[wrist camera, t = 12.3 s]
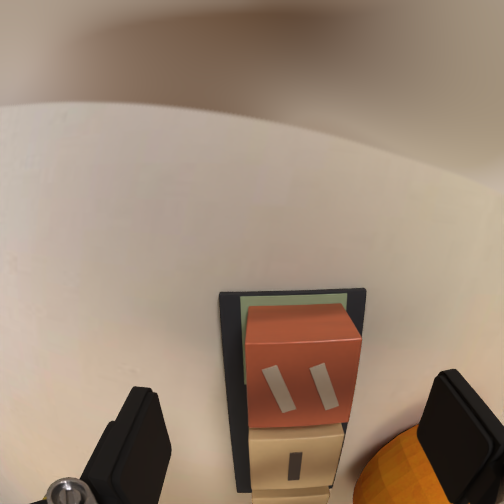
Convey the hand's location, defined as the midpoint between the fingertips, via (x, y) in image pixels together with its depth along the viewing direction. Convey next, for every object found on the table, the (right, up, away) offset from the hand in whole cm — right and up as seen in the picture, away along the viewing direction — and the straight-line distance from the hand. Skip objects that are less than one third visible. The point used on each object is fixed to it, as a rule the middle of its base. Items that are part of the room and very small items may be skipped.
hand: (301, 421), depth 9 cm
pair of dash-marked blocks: (+1, -7, +8) cm, 11 cm away
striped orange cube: (0, +1, +6) cm, 6 cm away
